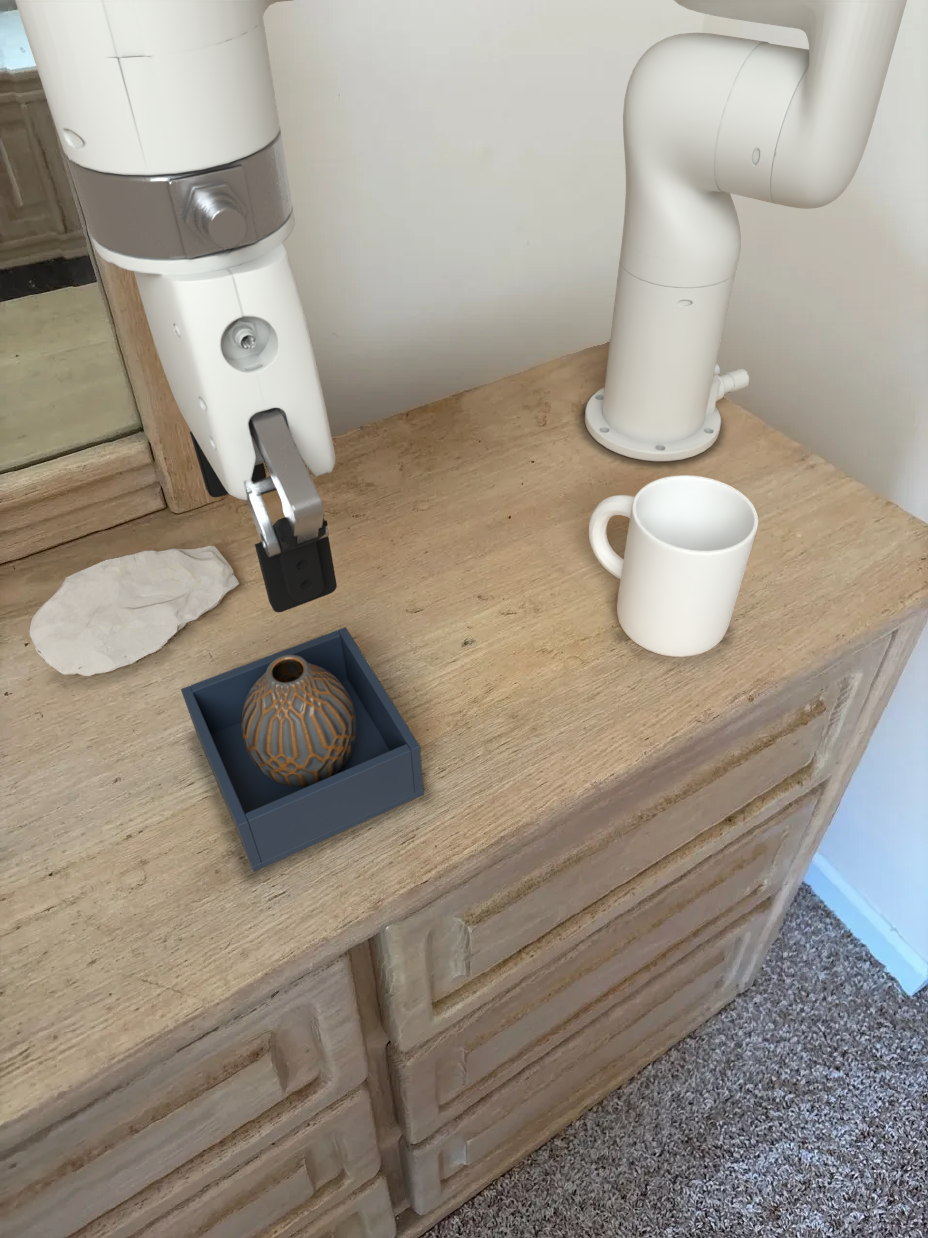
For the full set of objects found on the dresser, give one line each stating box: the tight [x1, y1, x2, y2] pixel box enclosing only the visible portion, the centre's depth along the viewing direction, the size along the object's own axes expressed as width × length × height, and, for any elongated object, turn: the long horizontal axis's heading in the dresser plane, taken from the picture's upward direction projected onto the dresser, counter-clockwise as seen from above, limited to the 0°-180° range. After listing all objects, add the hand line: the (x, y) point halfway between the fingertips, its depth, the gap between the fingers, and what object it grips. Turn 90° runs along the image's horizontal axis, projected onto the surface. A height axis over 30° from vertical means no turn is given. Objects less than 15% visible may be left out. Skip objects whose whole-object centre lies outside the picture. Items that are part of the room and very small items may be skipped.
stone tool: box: [28, 544, 240, 677], centre depth 67 cm, size 9×3×15 cm
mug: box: [588, 474, 759, 658], centre depth 65 cm, size 12×8×10 cm
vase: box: [242, 655, 357, 787], centre depth 55 cm, size 7×7×9 cm
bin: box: [180, 627, 425, 873], centre depth 57 cm, size 11×11×5 cm
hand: (268, 539), depth 46 cm, fingers open, 9 cm apart
